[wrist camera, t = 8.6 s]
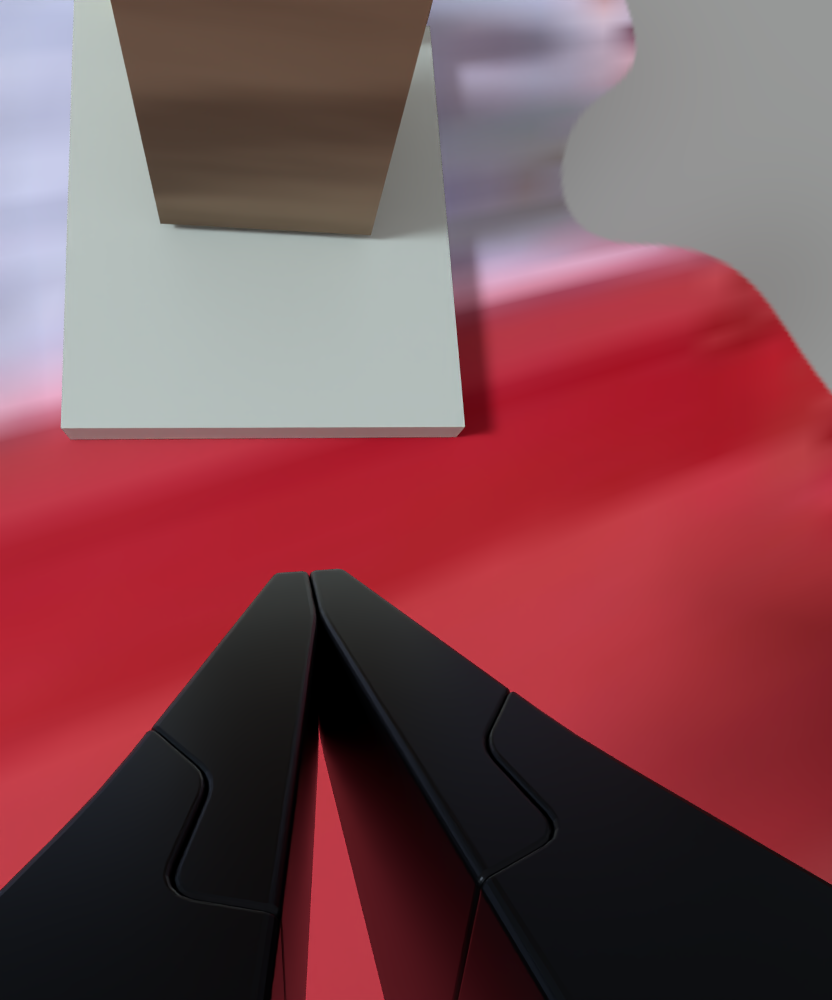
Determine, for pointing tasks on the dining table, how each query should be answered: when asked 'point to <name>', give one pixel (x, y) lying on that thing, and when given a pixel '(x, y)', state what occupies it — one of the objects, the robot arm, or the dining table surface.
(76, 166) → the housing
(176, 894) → the robot arm
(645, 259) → the dining table surface
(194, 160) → the brown wooden block
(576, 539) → the dining table surface
